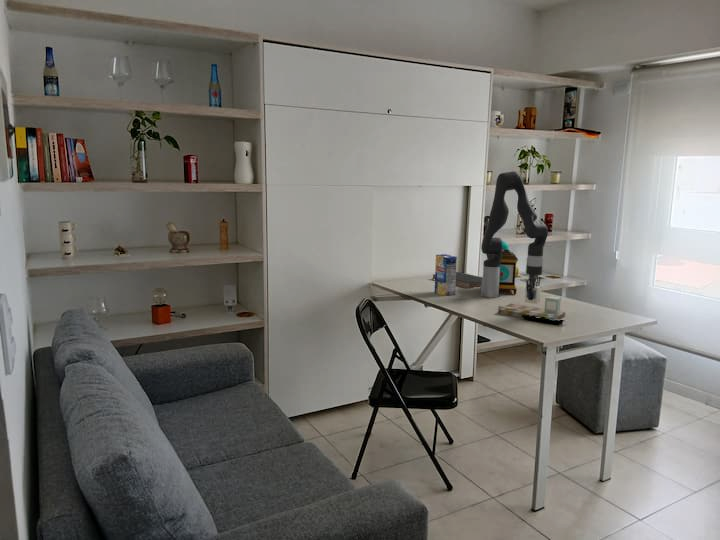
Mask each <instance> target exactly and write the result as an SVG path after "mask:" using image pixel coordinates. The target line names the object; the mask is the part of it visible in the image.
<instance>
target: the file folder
mask: <svg viewBox="0 0 720 540" xmlns="http://www.w3.org/2000/svg"><path fill="white" fill-rule="evenodd" d="M433 279H435V273H434V274H432V280H433ZM481 279H483V276H477V275H473V274H469V273H463V272H460V271H459V272H458V271H456V286H458V285H459V286H458V287H463V288H465V289H473V288H474V287H476V288H481ZM474 289H475V288H474Z"/></svg>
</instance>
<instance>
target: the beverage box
mask: <svg viewBox="0 0 720 540" xmlns="http://www.w3.org/2000/svg"><path fill="white" fill-rule="evenodd" d="M457 260H458V257H457V256H454V255H450V254H447V253H445V254H443V253H442V254H436V255H435V269H434V270H435V271H434V272H435V273H434V274H435V280H434V293H436V294H439V295H442V296H443V297H451V296H456V286H457V285H456V272H457V262H458V261H457Z"/></svg>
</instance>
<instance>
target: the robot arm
mask: <svg viewBox="0 0 720 540" xmlns="http://www.w3.org/2000/svg"><path fill="white" fill-rule="evenodd" d="M494 189H495V191H494V197H493V201H492V202H493V203H492V207H491V209H490V213H489V217H488V220H487V221H488V222H487V225H486V226H487V227H486V229H485V232H484V236H483V238H482V243H481V246H480V247H481V248H480V249H481V252H482V254H485V255H486V254H494V255H493V257H491V258H490V259H487V258H486V259H485V260H484V261H483V266H482V267H483V270H482V271H483V272H482V278H483V279H481V287H480V297H481V296H482V297H484V298H490V299H491V298H494V297H495V298H498V297H499V295H500V292H499V291H500V290H499V280H500V264H501V255H502V241H503V239H502V238H500V237H494V236H495V234H496V233H498V232H499V230H500V229H502V228H503V227H504V226H505V225H506V222H507V220H508V217H509V212H510V211H509V207H508V205H507V202H506V201H505V196H506V193H507V191H508V192H509V191H513V190H514V191H515V192H516V194H517V203H516V204H517V205H516V210H517V213H518V214H519V217H520V218H521V220H522V223H523V227H524V228H523V229H524V233H525V235H526V236H527V237H528V238H529V239H534V240H533V242H531V243H529V244H528V247H527V257H526V266H525V267H526V268H525V274H526V275H529V276H528V278H527V280H526V282H525V285H526V286H525V288H526V287H527V291H528V292H529V293H528V299H529V300H533V292H534V288H535V286H540V285H541V284H540V283H541V278H542V277H540V276H541V275H542V274H543V268H544V267H543V265H544V255H543V254H544V247H545V244H546V240H547V238H548V235H549V230H548V229H549V228H548V227H547V225H546V224H545V223H535V221H536V220H537V219H538V214H537V213H536V211H535V209H534V208H533V206H532V204H531V202H530V199H529V197H528V193H527V190H526V188H525V184H524V181H523V179H522V177H521V175H520V173H519V172H517V171H516V170H515V171H514V170H513V171H508V172H502V173H499V174H498V176H497V178H496V181H495V188H494ZM530 288H531V289H530Z"/></svg>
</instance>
